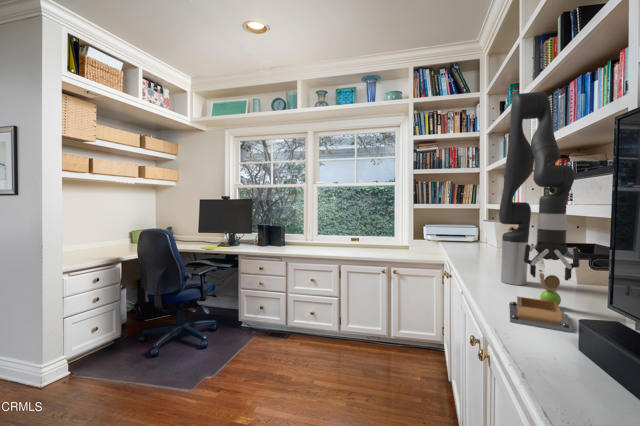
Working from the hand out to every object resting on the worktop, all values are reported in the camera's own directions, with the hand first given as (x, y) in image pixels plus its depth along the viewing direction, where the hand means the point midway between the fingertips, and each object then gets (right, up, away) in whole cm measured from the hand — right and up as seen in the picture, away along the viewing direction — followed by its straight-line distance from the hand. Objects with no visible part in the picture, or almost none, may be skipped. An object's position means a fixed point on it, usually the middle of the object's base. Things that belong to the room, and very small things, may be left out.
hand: (549, 278), depth 103 cm
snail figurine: (0, -10, +1) cm, 10 cm away
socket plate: (-10, -10, -9) cm, 16 cm away
